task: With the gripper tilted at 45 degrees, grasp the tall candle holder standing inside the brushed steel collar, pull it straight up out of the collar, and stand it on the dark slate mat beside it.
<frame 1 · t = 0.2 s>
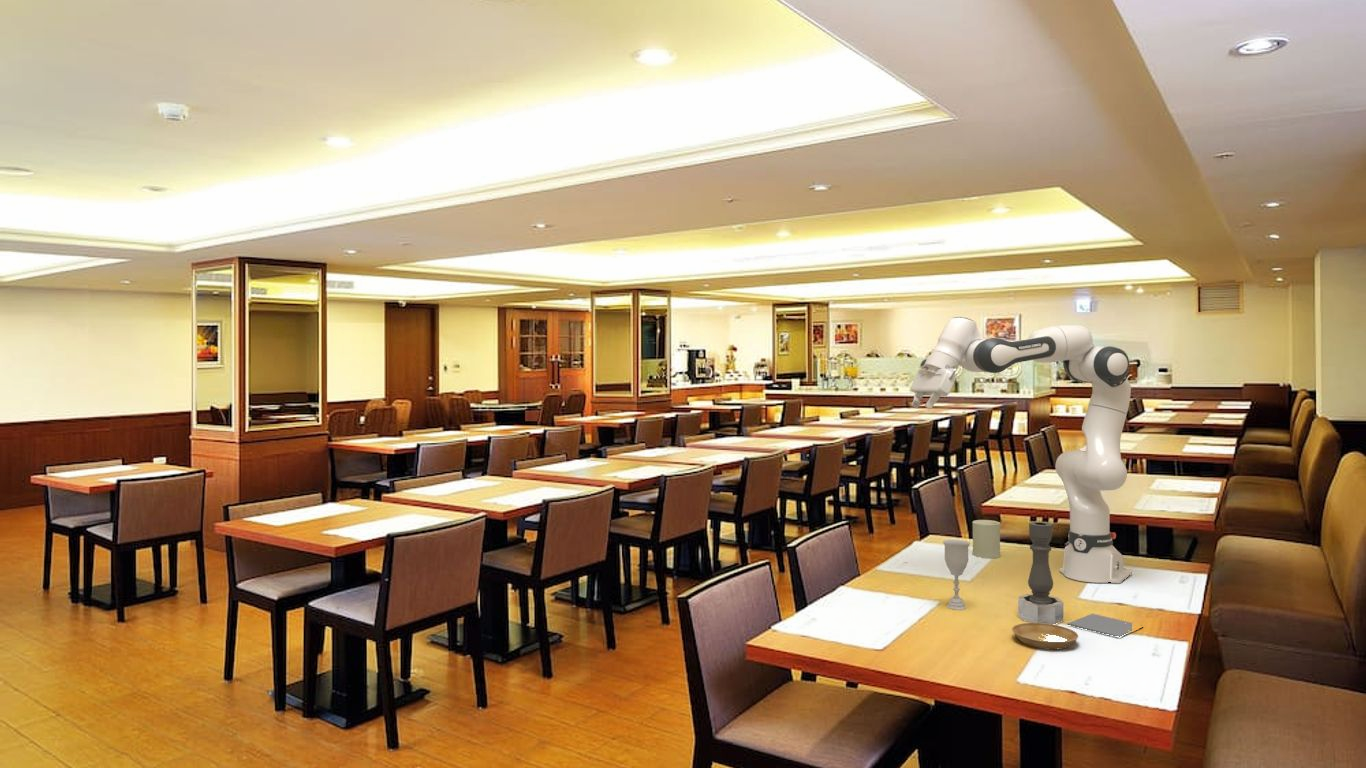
hand: (921, 407, 251), 54 cm above the table, tool tilted 30°, fingers open, 8 cm apart
chalice: (956, 607, 233), on the table
can: (986, 556, 292), on the table
steel collar: (1040, 618, 222), on the table
slate mat: (1105, 626, 214), on the table
candle holder: (1040, 619, 222), resting in steel collar
plant saucer: (1044, 643, 204), on the table
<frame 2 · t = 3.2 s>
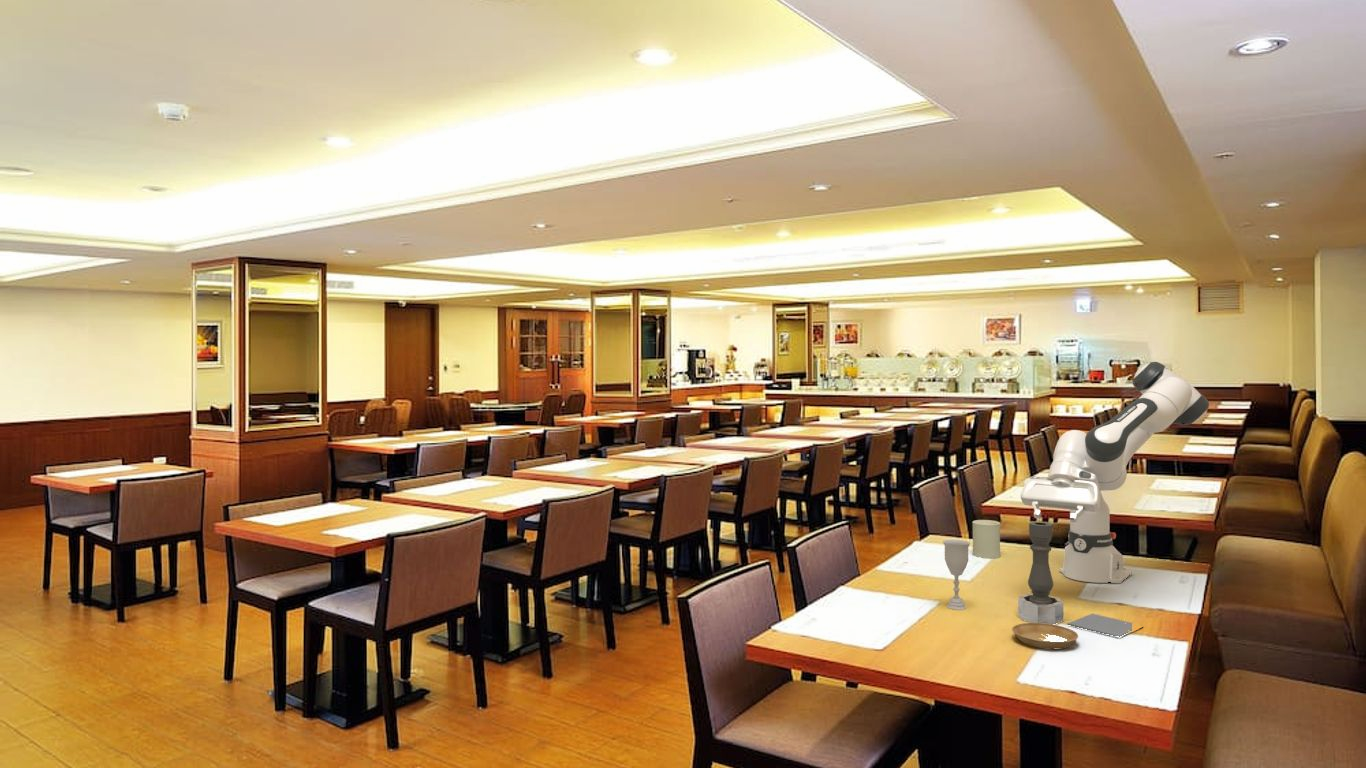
hand: (1054, 518, 230), 24 cm above the table, tool tilted 45°, fingers open, 8 cm apart
nothing on the table moved.
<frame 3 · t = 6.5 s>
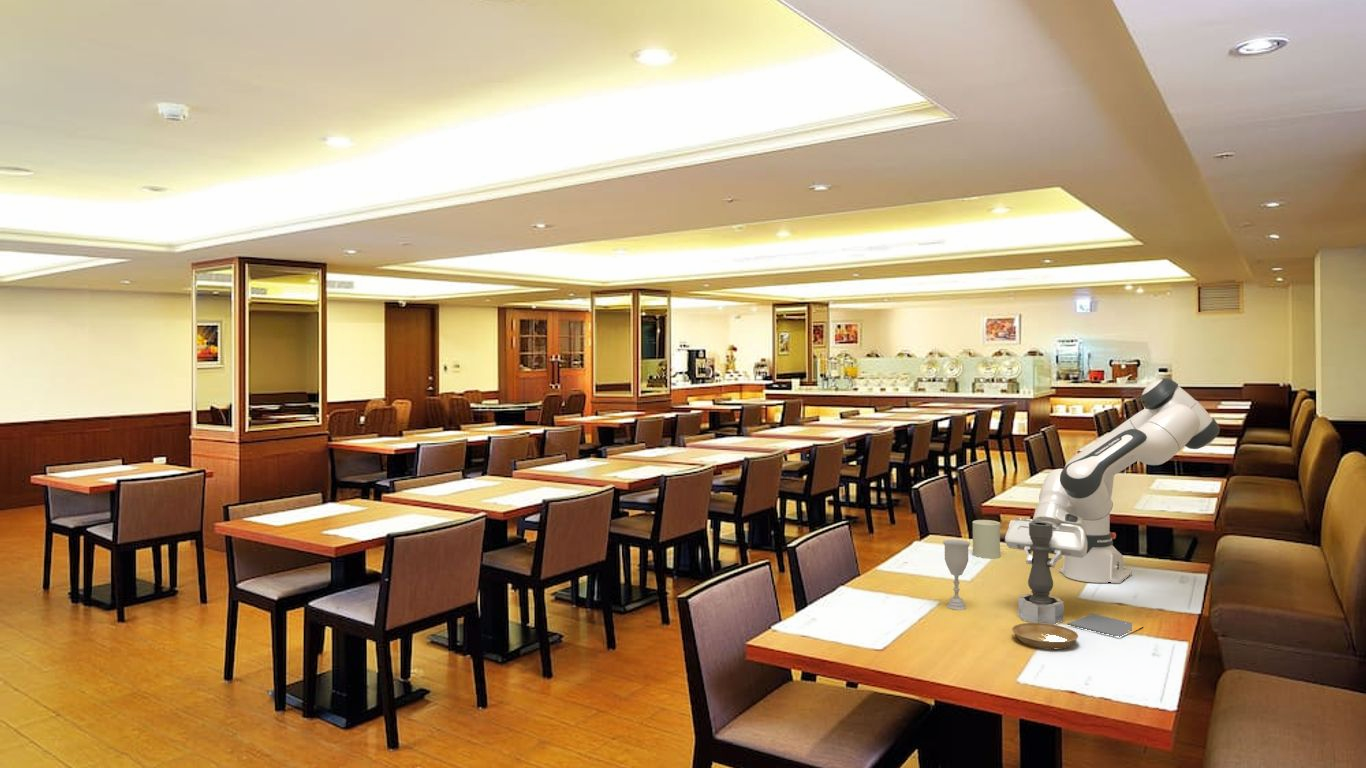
hand: (1039, 564, 221), 14 cm above the table, tool tilted 45°, fingers closed on candle holder, 4 cm apart
candle holder: (1040, 619, 222), resting in steel collar, touching gripper
everything else where it was.
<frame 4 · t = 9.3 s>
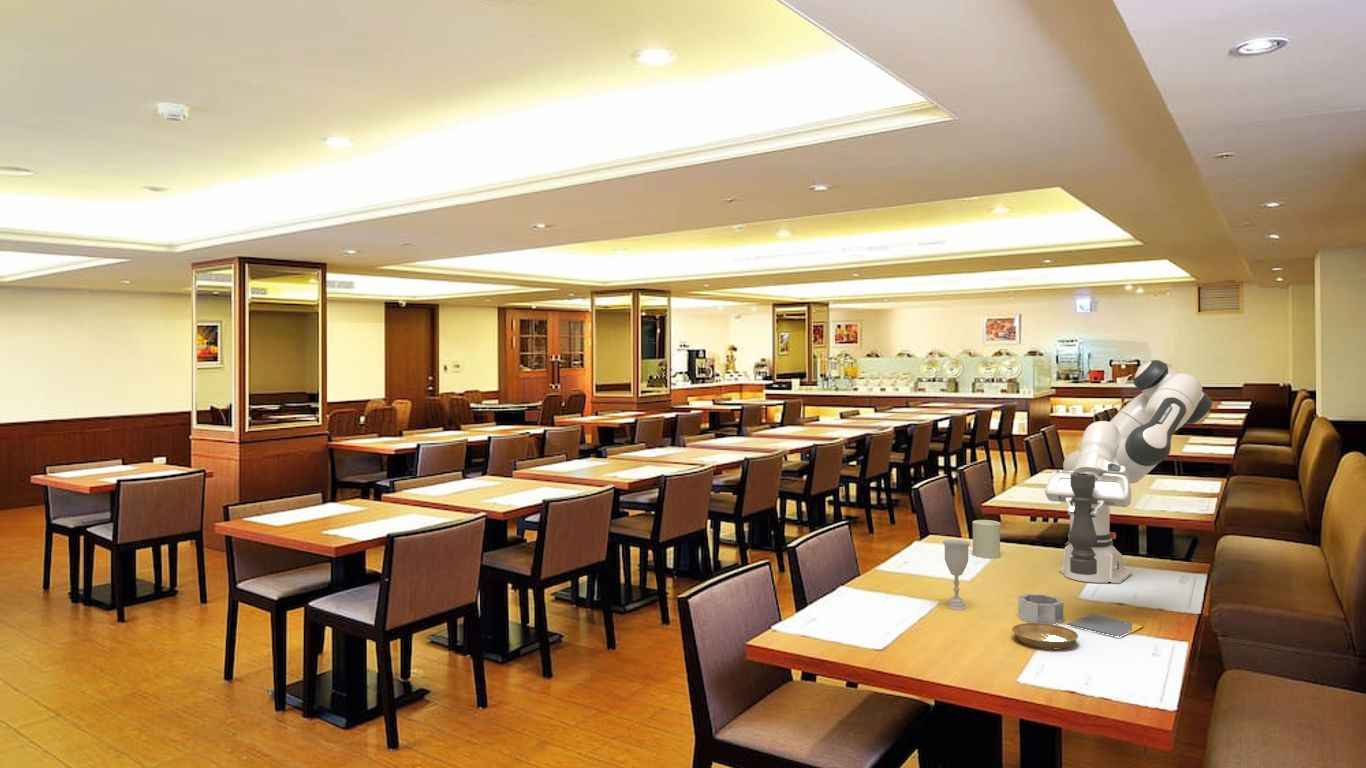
hand: (1082, 515, 216), 28 cm above the table, tool tilted 45°, fingers closed on candle holder, 4 cm apart
candle holder: (1083, 572, 216), point 13 cm above the table, touching gripper
everything else where it was.
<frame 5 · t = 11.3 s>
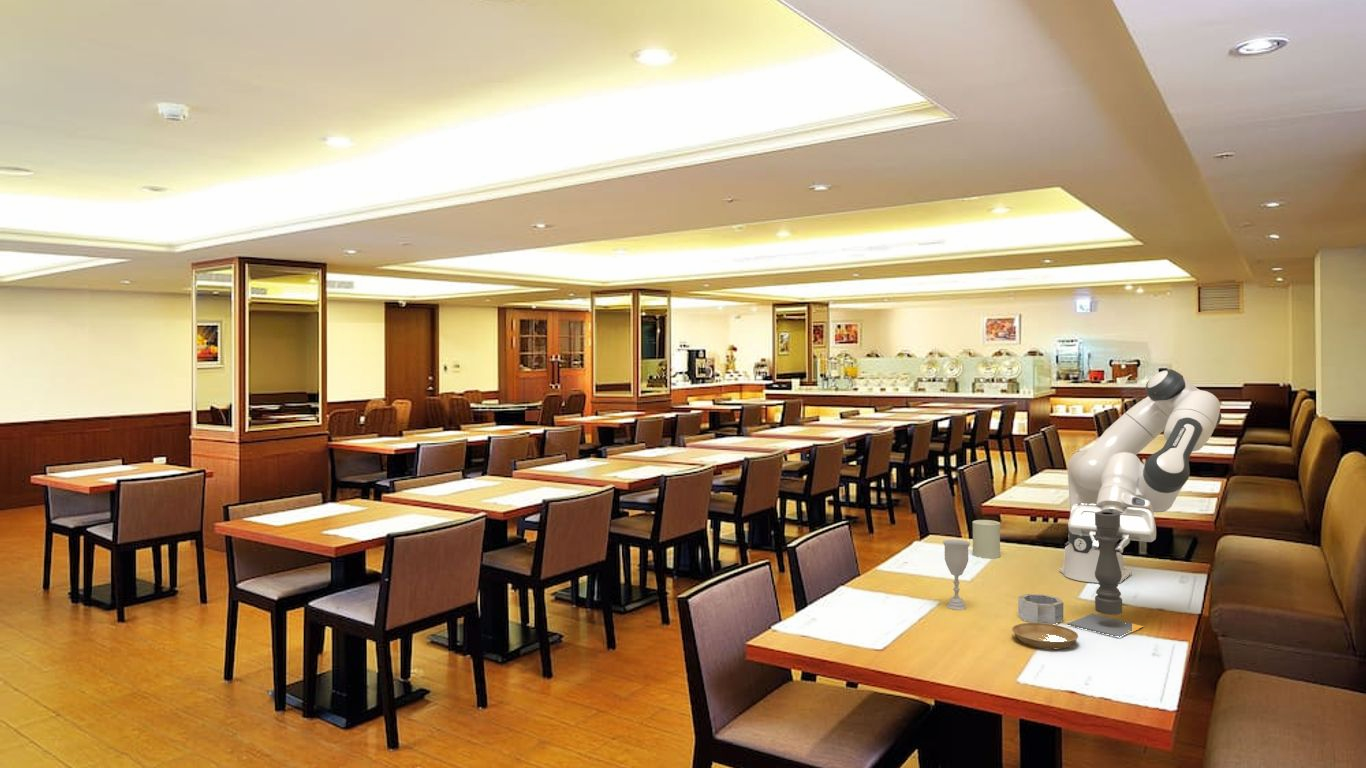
hand: (1107, 550, 213), 20 cm above the table, tool tilted 45°, fingers closed on candle holder, 4 cm apart
candle holder: (1108, 611, 214), point 4 cm above the table, touching gripper
everything else where it was.
when the fingers open (16 cm above the table, at t = 12.4 s): candle holder stays where it is, resting on slate mat.
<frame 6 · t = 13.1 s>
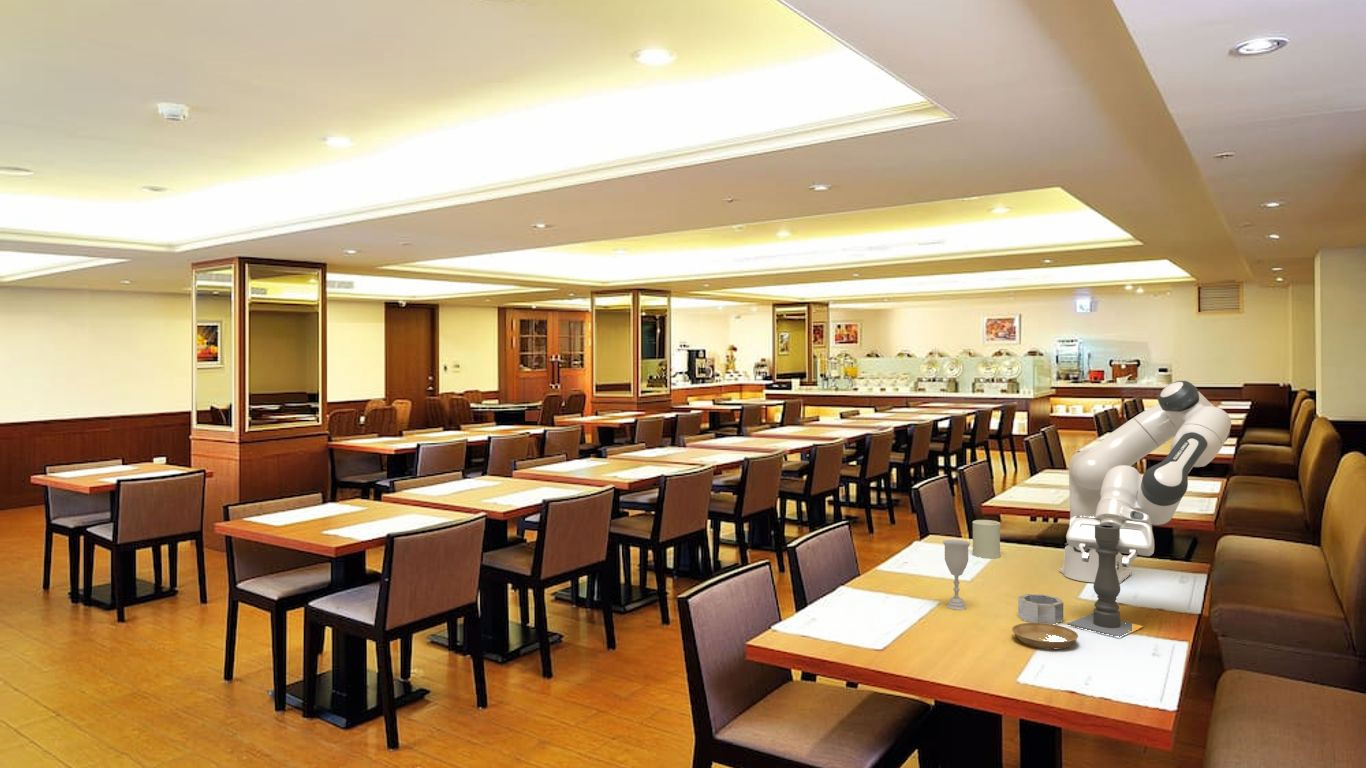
hand: (1104, 563, 213), 16 cm above the table, tool tilted 45°, fingers open, 8 cm apart
candle holder: (1106, 625, 215), resting on slate mat
everything else where it was.
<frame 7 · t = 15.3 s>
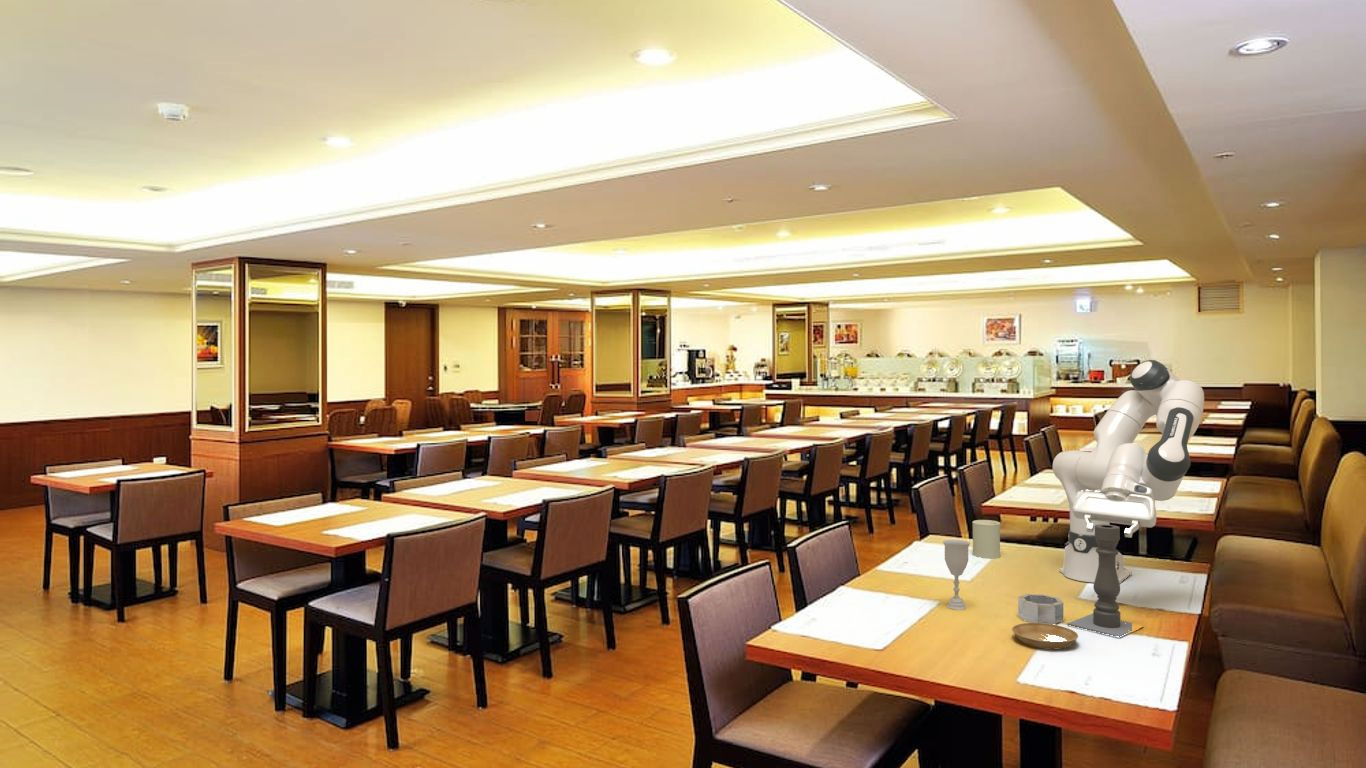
hand: (1108, 533, 225), 22 cm above the table, tool tilted 45°, fingers open, 8 cm apart
nothing on the table moved.
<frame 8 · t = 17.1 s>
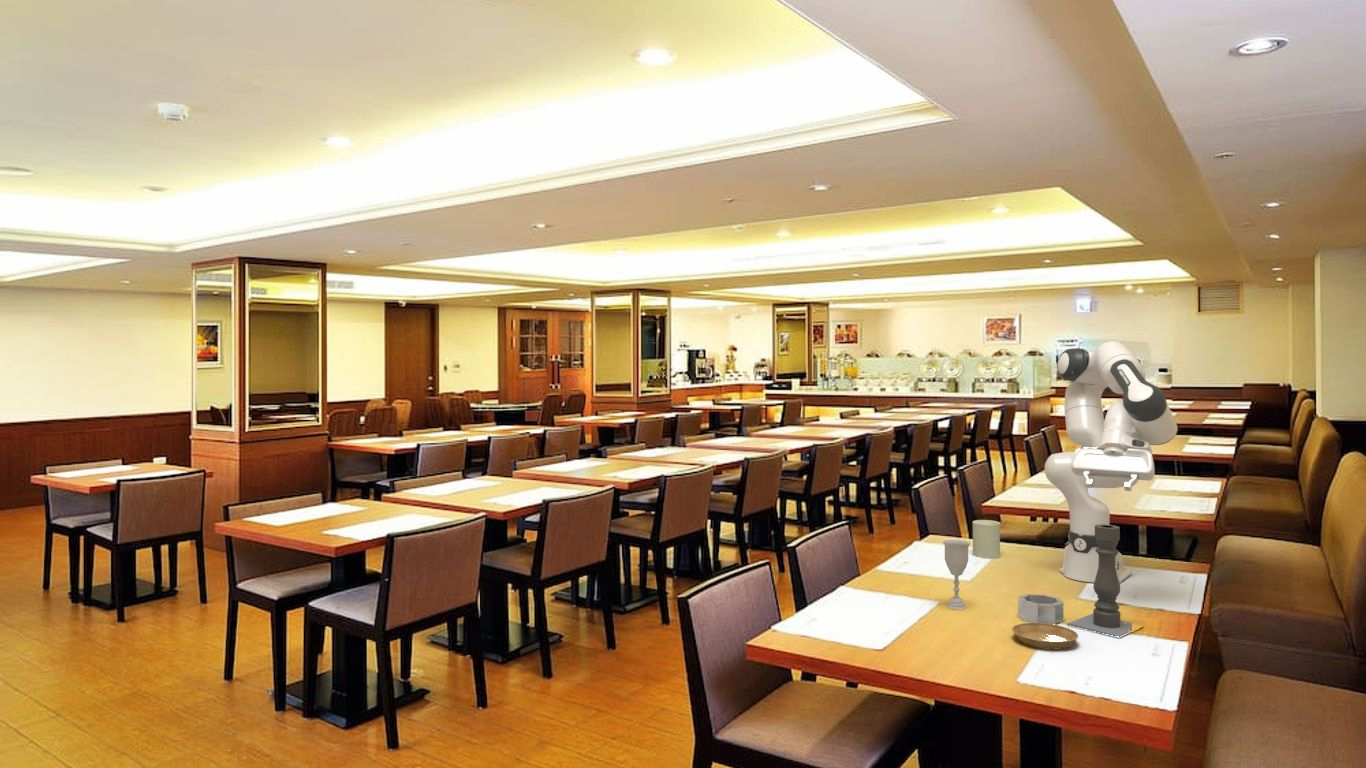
hand: (1107, 488, 226), 33 cm above the table, tool tilted 45°, fingers open, 8 cm apart
nothing on the table moved.
at the end: candle holder inside the target area (0.4 cm from its centre), resting on slate mat; candle holder tilted 0°; the gripper is holding nothing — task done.
